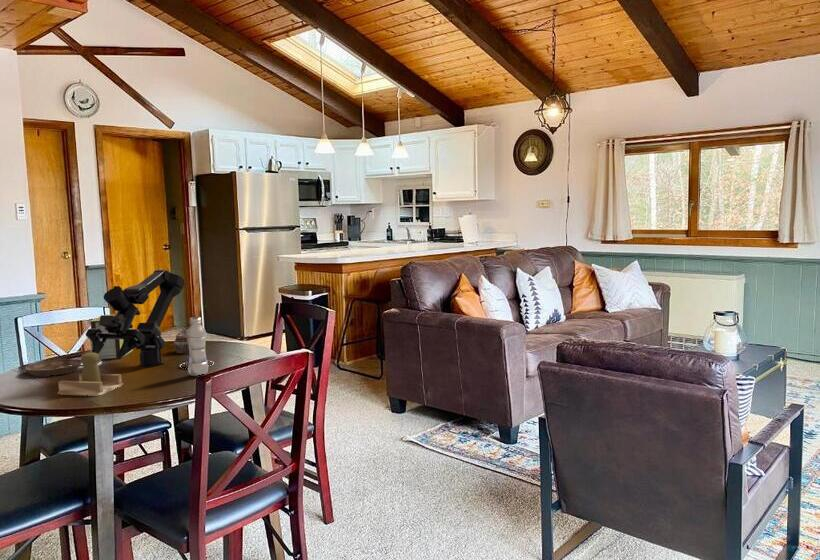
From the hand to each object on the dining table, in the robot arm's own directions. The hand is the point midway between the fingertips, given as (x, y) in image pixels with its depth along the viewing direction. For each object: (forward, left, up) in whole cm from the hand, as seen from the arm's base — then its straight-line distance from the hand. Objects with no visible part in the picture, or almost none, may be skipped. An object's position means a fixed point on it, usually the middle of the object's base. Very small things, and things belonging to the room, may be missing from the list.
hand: (105, 358), depth 201 cm
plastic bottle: (-22, +18, -9) cm, 30 cm away
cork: (+7, +3, -8) cm, 11 cm away
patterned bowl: (-31, +5, -9) cm, 33 cm away
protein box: (-25, -40, -9) cm, 48 cm away
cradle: (+7, +3, -8) cm, 11 cm away
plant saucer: (+1, -33, -9) cm, 34 cm away
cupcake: (-44, -19, -9) cm, 49 cm away
